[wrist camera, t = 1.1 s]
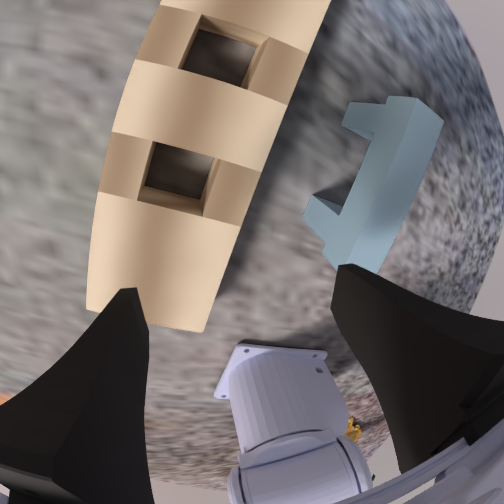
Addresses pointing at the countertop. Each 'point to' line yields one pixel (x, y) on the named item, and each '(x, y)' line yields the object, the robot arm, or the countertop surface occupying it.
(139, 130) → the rail
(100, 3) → the countertop surface
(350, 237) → the clip
